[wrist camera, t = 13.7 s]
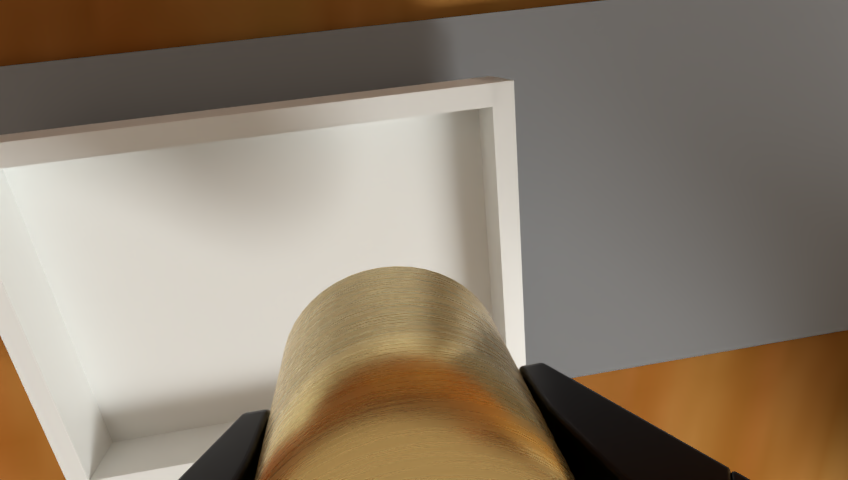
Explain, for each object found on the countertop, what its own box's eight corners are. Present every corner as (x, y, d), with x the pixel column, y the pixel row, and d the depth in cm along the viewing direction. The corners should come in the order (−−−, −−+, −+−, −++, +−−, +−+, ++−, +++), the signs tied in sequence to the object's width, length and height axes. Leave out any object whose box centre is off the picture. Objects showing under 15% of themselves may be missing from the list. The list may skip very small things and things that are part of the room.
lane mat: (1031, -47, 15) (1044, -48, 15) (934, 309, 20) (942, 313, 19) (-40, 71, 13) (-49, 71, 13) (113, 451, 17) (109, 457, 17)
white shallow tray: (479, 74, 14) (514, 80, 11) (497, 355, 17) (528, 418, 14) (15, 129, 13) (-83, 152, 10) (125, 417, 16) (75, 499, 13)
